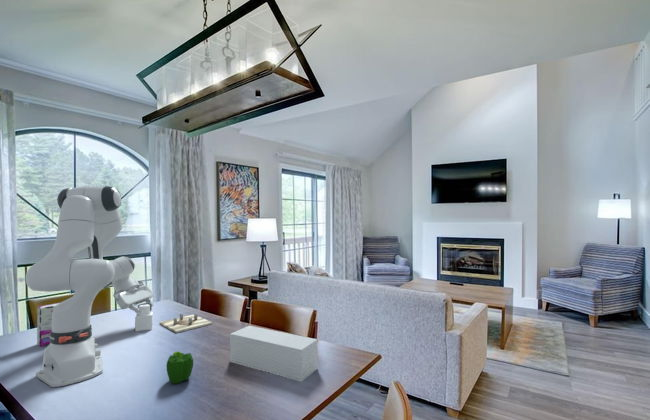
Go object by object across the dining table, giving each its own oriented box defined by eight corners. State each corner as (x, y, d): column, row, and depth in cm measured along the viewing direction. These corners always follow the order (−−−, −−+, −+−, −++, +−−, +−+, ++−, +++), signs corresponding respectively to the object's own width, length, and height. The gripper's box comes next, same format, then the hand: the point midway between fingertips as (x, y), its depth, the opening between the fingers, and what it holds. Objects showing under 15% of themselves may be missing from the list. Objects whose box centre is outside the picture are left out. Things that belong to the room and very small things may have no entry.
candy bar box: (68, 337, 147) (69, 300, 148) (71, 339, 144) (72, 302, 145) (36, 344, 139) (37, 306, 139) (39, 347, 136) (40, 308, 136)
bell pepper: (185, 371, 114) (185, 343, 114) (197, 379, 109) (197, 349, 109) (160, 380, 108) (161, 350, 108) (172, 389, 102) (172, 357, 103)
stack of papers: (229, 362, 122) (230, 333, 122) (249, 352, 132) (249, 325, 132) (301, 382, 107) (301, 349, 107) (317, 369, 117) (317, 339, 117)
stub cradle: (211, 324, 166) (211, 316, 166) (176, 333, 153) (176, 324, 153) (193, 316, 179) (194, 308, 180) (159, 323, 166) (159, 316, 166)
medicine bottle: (136, 327, 161) (137, 303, 161) (152, 325, 164) (153, 301, 164) (135, 332, 154) (135, 306, 155) (151, 329, 157) (152, 305, 158)
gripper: (115, 288, 150) (134, 310, 149) (145, 280, 170) (162, 299, 169) (107, 298, 150) (125, 320, 149) (137, 288, 171) (154, 308, 169)
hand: (145, 309), depth 159 cm, fingers open, 8 cm apart
